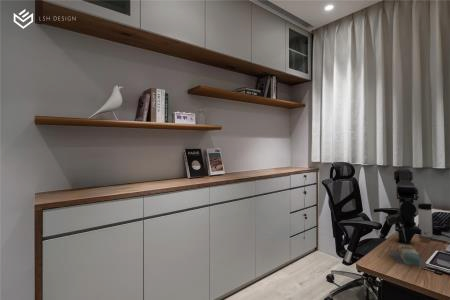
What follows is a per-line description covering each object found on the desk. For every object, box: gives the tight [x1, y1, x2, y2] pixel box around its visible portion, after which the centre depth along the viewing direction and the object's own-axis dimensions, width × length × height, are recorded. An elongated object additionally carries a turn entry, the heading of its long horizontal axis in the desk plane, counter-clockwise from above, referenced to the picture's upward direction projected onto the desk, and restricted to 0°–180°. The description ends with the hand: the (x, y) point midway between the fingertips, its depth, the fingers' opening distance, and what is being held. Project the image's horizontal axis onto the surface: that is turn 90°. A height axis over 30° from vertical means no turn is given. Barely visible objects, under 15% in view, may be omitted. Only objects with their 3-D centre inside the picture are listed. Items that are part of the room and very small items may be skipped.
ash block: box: [398, 244, 420, 267], centre depth 113 cm, size 5×5×10 cm
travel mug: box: [417, 203, 433, 239], centre depth 144 cm, size 6×7×20 cm
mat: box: [388, 249, 430, 269], centre depth 115 cm, size 16×12×1 cm
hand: (407, 243), depth 114 cm, fingers closed
